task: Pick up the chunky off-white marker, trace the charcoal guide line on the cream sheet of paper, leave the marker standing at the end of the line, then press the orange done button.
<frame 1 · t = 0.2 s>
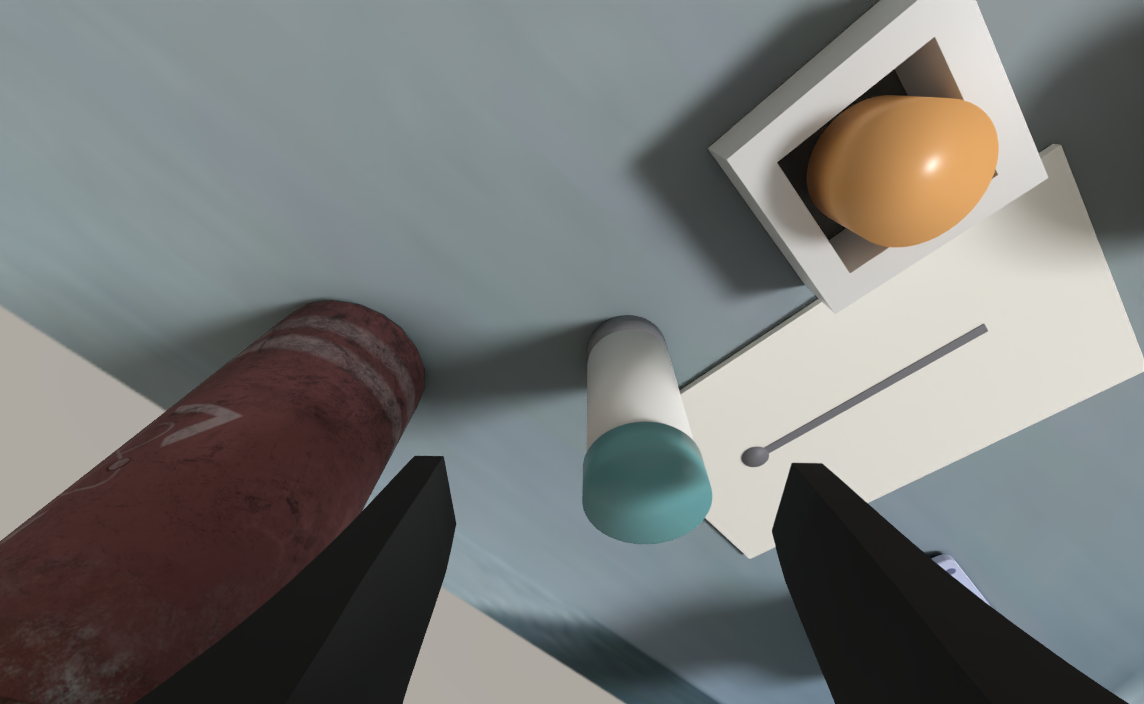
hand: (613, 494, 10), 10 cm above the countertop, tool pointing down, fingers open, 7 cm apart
paper: (862, 400, 20), on the countertop
done button: (892, 170, 13), point 3 cm above the countertop, slide at 0.0 cm
can: (359, 361, 20), on the countertop
button housing: (845, 156, 16), on the countertop
marker: (626, 350, 19), on the countertop
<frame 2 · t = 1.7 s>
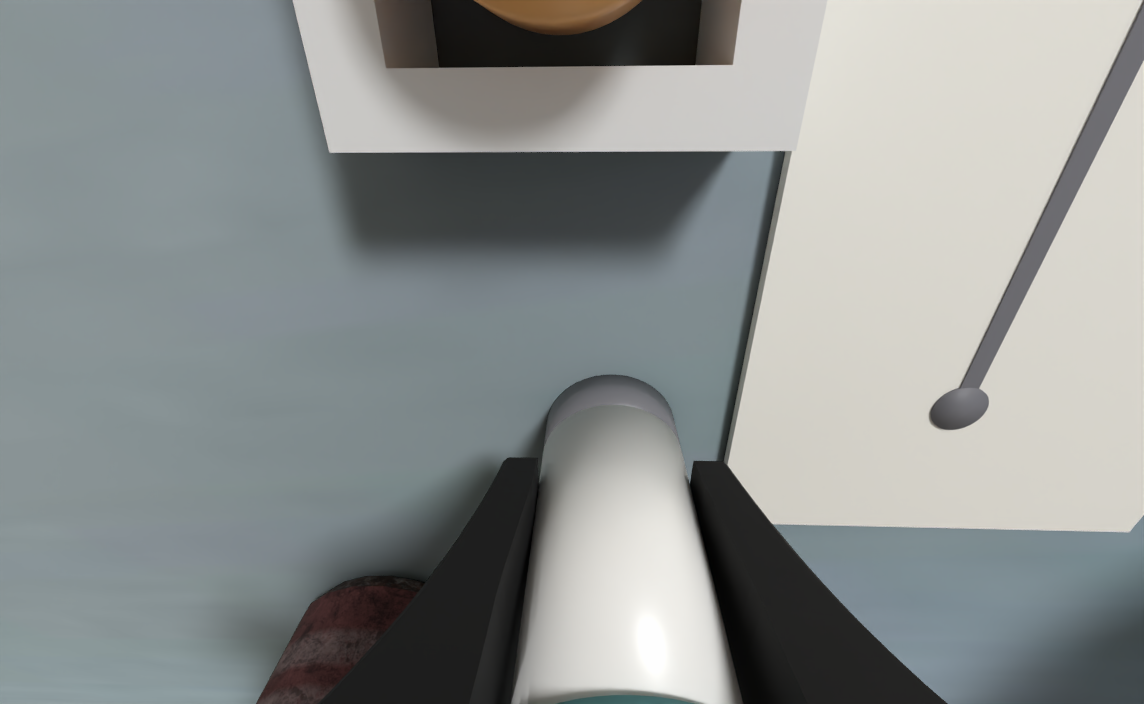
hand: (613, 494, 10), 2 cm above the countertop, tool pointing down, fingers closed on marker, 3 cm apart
paper: (1082, 179, 9), on the countertop
can: (404, 621, 17), on the countertop
marker: (610, 428, 12), on the countertop, touching gripper
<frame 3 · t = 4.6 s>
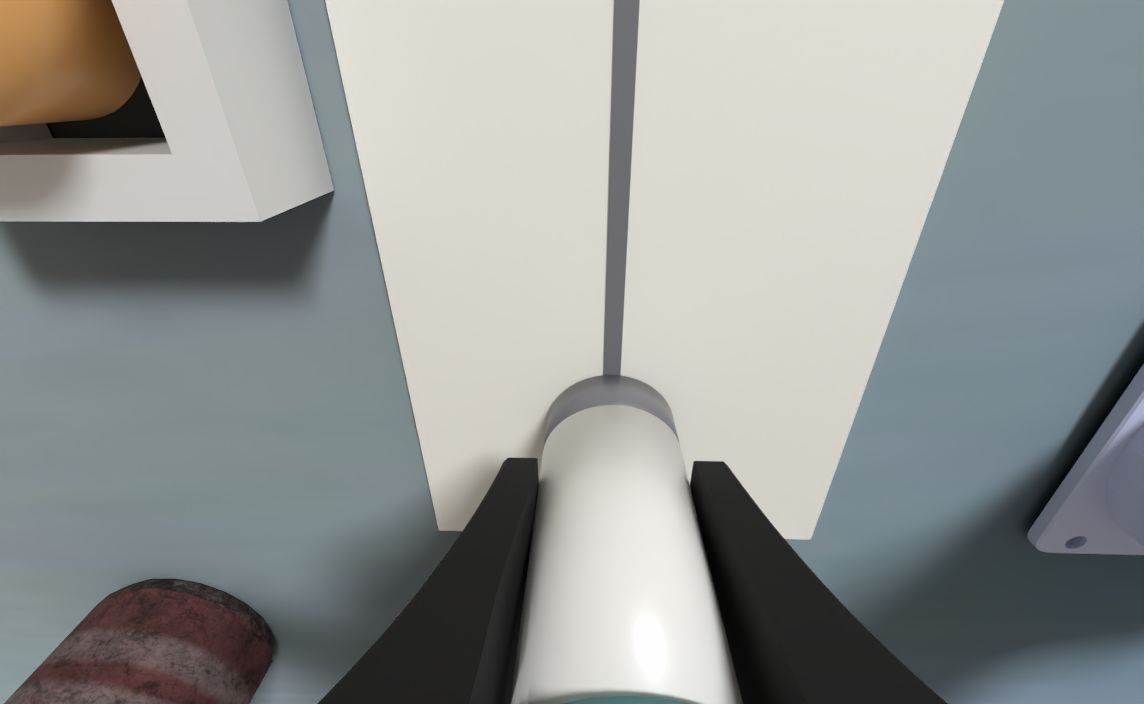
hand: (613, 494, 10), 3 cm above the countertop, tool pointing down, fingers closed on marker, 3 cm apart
paper: (640, 230, 10), on the countertop
can: (204, 621, 18), on the countertop
marker: (609, 428, 12), resting on paper, touching gripper
when the fingers open (3 cm above the countertop, at t = 7.2 s): marker stays where it is, resting on paper.
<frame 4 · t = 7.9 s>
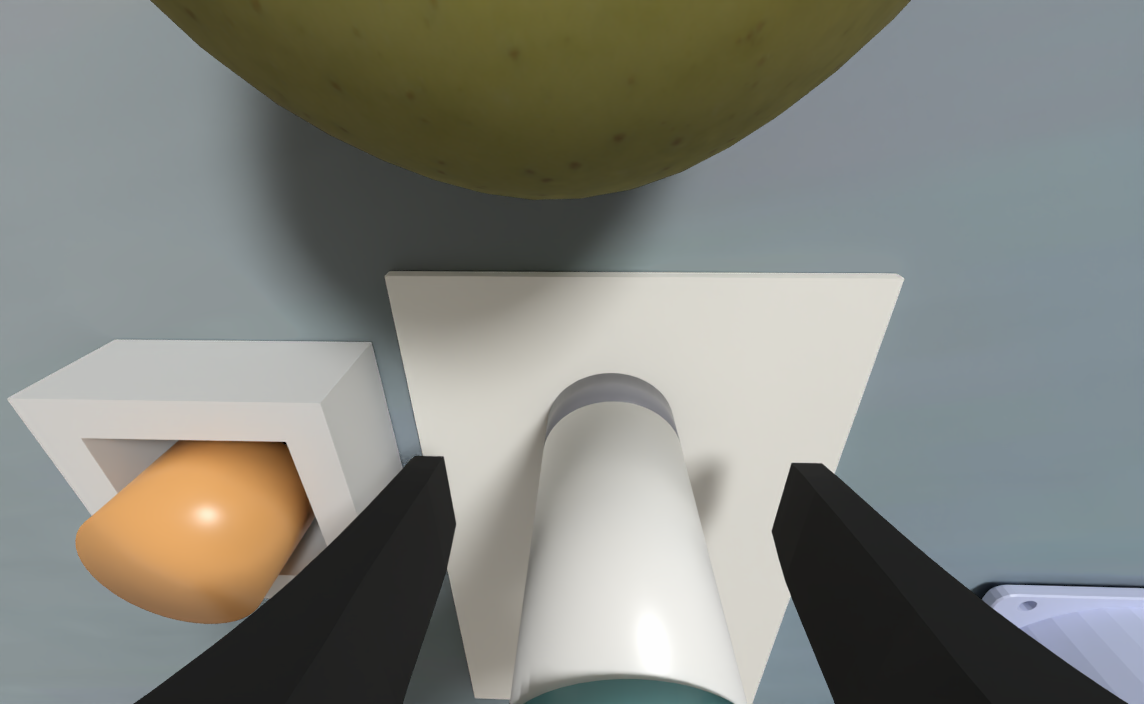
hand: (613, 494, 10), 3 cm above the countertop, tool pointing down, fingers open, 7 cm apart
paper: (620, 547, 15), on the countertop
done button: (214, 522, 11), point 3 cm above the countertop, slide at 0.0 cm
button housing: (282, 442, 13), on the countertop
marker: (610, 427, 12), resting on paper
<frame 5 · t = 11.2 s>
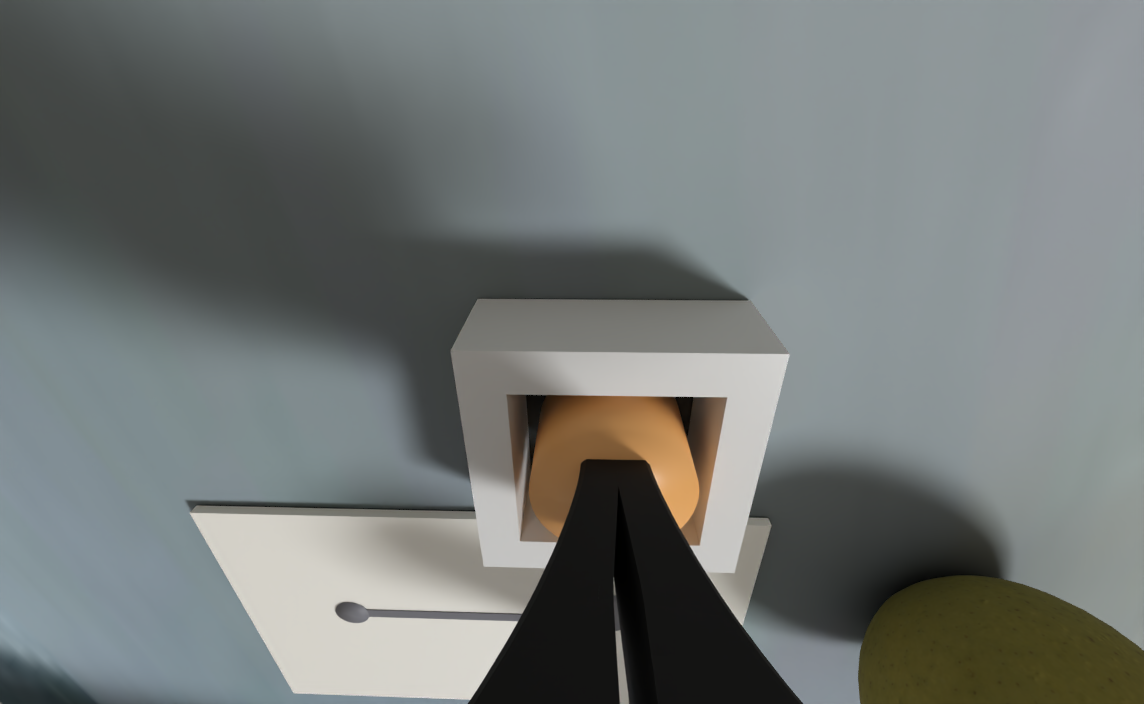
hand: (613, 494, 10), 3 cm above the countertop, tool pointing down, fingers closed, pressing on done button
paper: (492, 616, 18), on the countertop
done button: (611, 455, 11), point 2 cm above the countertop, slide at 1.0 cm, touching gripper
button housing: (608, 409, 13), on the countertop
apple: (929, 597, 17), on the countertop
marker: (629, 621, 17), resting on paper
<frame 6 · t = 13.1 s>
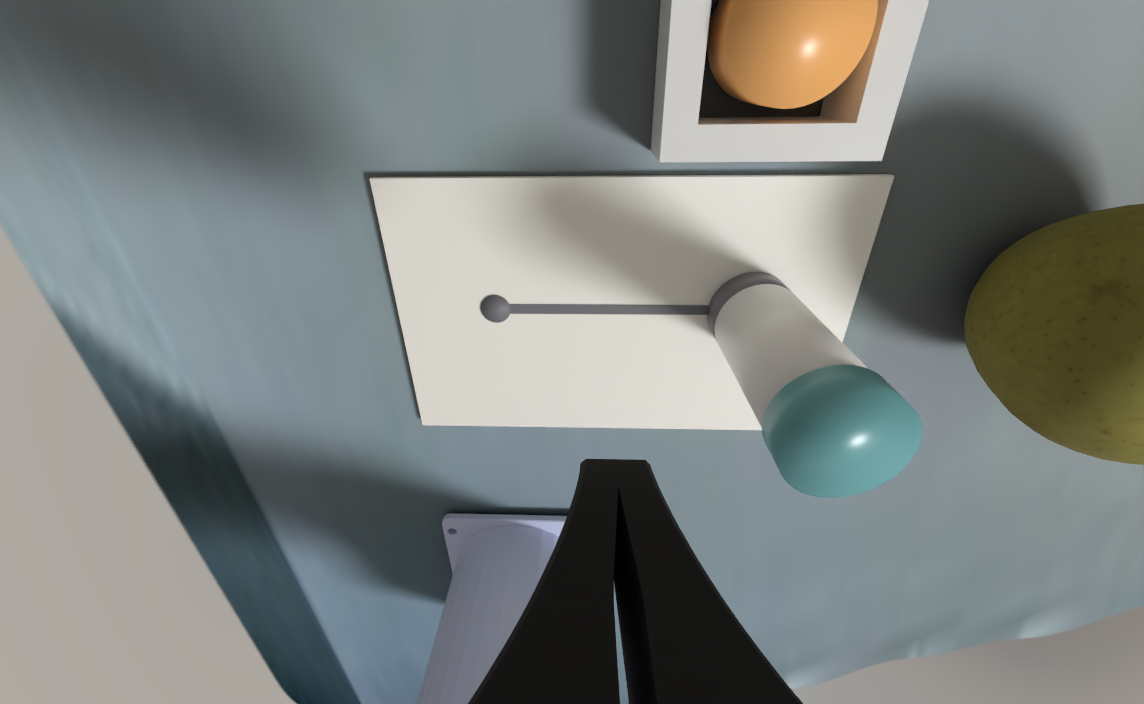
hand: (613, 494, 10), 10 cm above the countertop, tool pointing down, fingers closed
paper: (619, 317, 19), on the countertop
done button: (783, 32, 13), point 2 cm above the countertop, slide at 1.0 cm
button housing: (763, 36, 14), on the countertop
apple: (1023, 283, 18), on the countertop
marker: (748, 310, 19), resting on paper
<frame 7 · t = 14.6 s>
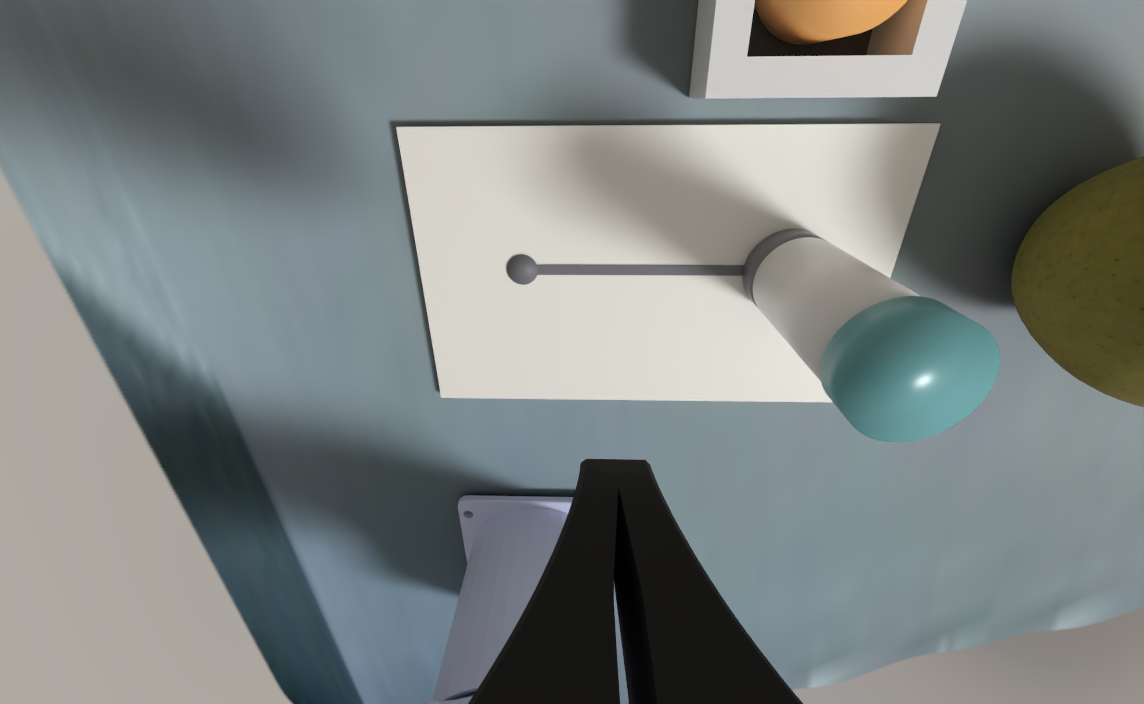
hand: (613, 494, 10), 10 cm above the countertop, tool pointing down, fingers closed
paper: (650, 279, 19), on the countertop
apple: (1067, 242, 18), on the countertop
marker: (785, 270, 18), resting on paper
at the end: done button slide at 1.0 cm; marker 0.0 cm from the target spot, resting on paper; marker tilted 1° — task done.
